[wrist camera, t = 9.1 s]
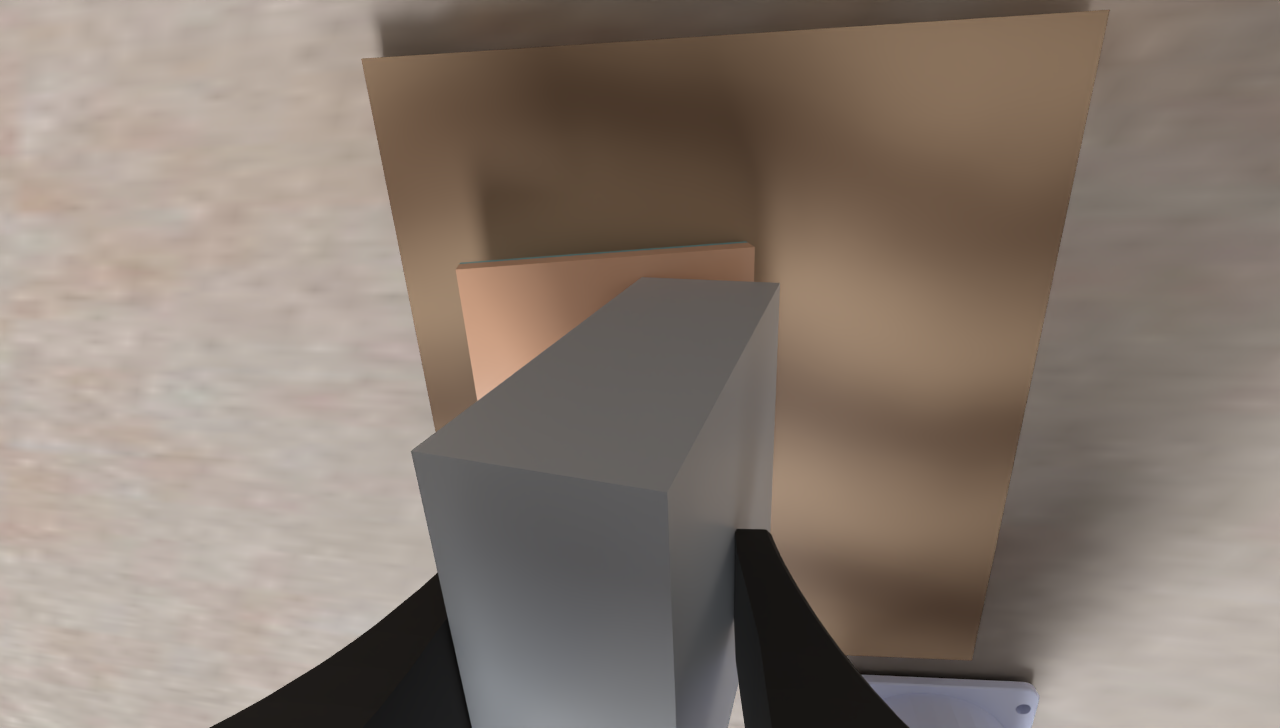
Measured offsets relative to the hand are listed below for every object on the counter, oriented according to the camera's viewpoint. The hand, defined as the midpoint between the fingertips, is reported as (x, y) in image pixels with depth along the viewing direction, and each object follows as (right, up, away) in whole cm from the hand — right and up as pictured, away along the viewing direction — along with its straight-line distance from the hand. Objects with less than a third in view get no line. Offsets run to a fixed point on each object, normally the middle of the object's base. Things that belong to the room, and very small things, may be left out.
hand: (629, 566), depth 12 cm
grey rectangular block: (+2, +2, +4) cm, 5 cm away
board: (+3, +3, +8) cm, 9 cm away
